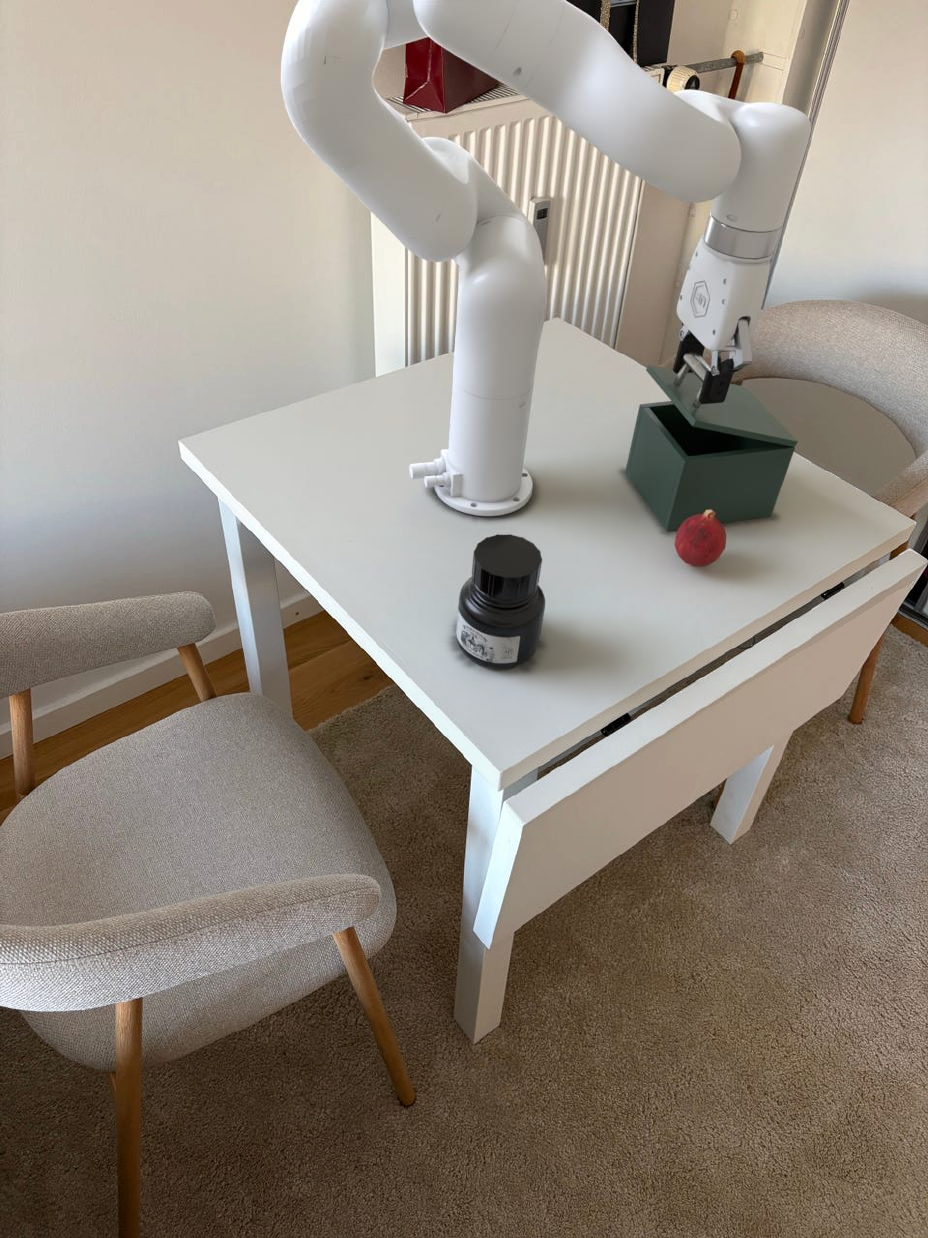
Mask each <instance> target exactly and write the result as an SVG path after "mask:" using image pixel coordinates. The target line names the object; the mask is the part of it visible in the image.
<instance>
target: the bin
mask: <svg viewBox="0 0 928 1238" xmlns="http://www.w3.org/2000/svg"><path fill="white" fill-rule="evenodd" d="M636 415H637V416H636V420H635V424H634V430H633V435H632V438H631V442H630V443H631V444H630V448H629V452H628V458H627V462H626V467H625V471H624V473H625V474H626V476H627V478H628V479H629V480H630V482H631V484H632V485H633V486H634V488H635V489H636V491H637V492H638V493H639V494H640V496H641V498H642V499H643V500H644V502H645V503H646V504H647V506H648V507H649V509H650V510H651V511H652V513H653V514H654V516H655V517H656V519H657V520H658V521H659V523H660V524H661V526H662V527H663V528H664V530H665V532H672V531H678V529H679V527H680V526H681V524H682V523H683V522H684V521H685V520H686V519H688V518H690V517H692V516H694V515H697V514H703V513H704V512H705V511H706V510H710V509H711V510H713V511H714V512H715V516H714V517H715V518H716V519H717V520H718V521H719V522H720V523H721V524H726V523H727V524H728V523H733V522H735V523H736V522H740V521H742V522H743V521H747V520H755V519H761V518H768V517H772V515H773V511H774V509H775V507H776V503H777V500H778V498H779V494H780V492H781V489H782V487H783V484H784V481H785V477H786V475H787V473H788V470H789V466H790V464H791V461H792V458H793V455H794V452H795V450H796V446H795V447H792V446H787V445H782V444H777V443H772V442H767V441H762V440H757V439H752V438H748V437H743V436H738V435H733V434H728V433H723V432H718V431H713V430H708V429H703V428H698V427H693V426H692V425H691V424H690V423H689V421H688V420H687V419H686V418H685V417H684V415H683V414H682V413H681V412H680V411H679V409H678V408H677V407H676V406H675V405H674V403H673V402H672V401H671V400H666V401H659V402H658V401H657V402H648V403H641V404H639V406H638V411H637V414H636Z"/></svg>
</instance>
